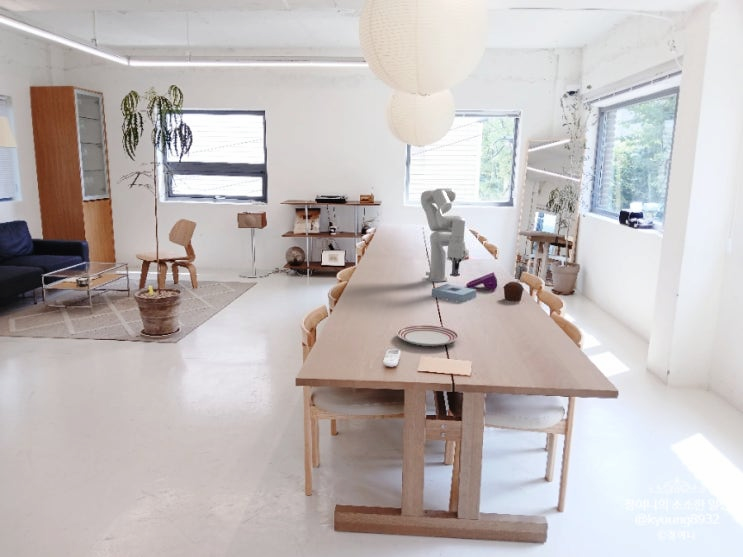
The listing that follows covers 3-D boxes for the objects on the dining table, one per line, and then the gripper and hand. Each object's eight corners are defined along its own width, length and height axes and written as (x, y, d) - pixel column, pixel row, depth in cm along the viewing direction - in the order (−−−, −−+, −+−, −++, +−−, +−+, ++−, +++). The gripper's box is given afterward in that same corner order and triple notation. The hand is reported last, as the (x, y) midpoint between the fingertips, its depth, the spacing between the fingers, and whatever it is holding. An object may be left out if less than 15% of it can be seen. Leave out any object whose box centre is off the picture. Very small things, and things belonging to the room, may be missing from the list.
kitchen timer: (471, 257, 436) (472, 239, 432) (464, 260, 424) (465, 241, 421) (455, 255, 443) (456, 237, 439) (448, 258, 431) (449, 239, 428)
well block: (431, 296, 318) (431, 288, 317) (446, 291, 330) (446, 284, 329) (462, 302, 306) (462, 294, 305) (475, 297, 318) (476, 289, 317)
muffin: (512, 303, 307) (513, 285, 305) (498, 298, 316) (499, 281, 314) (527, 300, 313) (528, 283, 311) (512, 295, 323) (514, 279, 320)
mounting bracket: (471, 298, 338) (499, 288, 333) (465, 286, 337) (493, 275, 332) (471, 294, 347) (499, 284, 342) (466, 282, 346) (493, 272, 341)
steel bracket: (449, 275, 333) (451, 259, 330) (454, 274, 336) (455, 258, 334) (455, 276, 330) (456, 260, 328) (459, 275, 334) (461, 259, 331)
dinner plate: (397, 329, 260) (398, 322, 260) (456, 331, 258) (456, 324, 257) (394, 349, 234) (395, 342, 233) (460, 352, 231) (460, 345, 231)
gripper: (442, 237, 329) (441, 267, 334) (465, 241, 320) (463, 272, 325) (449, 236, 335) (447, 265, 340) (472, 239, 326) (469, 270, 331)
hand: (455, 268), depth 332 cm, fingers closed on steel bracket, 1 cm apart
